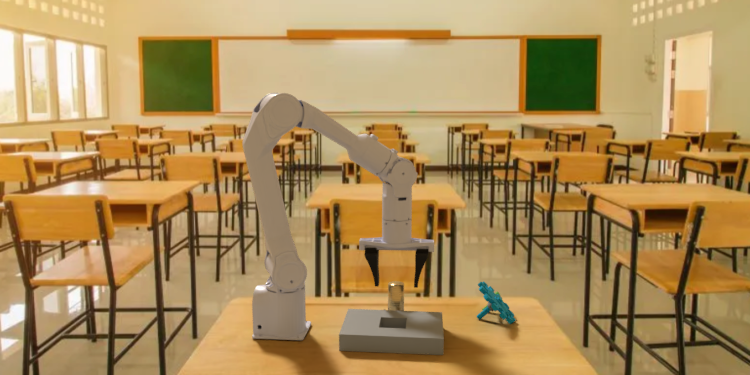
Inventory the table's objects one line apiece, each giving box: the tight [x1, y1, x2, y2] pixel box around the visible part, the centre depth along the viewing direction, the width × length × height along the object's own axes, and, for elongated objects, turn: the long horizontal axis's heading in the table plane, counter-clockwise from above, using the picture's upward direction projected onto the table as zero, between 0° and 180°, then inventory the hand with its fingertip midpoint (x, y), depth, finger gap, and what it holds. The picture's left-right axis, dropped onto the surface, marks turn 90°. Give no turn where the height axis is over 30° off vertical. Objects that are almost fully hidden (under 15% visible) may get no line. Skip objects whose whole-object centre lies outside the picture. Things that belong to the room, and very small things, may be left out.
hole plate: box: [338, 308, 445, 356], centre depth 107 cm, size 18×12×3 cm, turn 85°
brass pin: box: [387, 280, 405, 311], centre depth 116 cm, size 3×3×7 cm
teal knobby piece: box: [476, 281, 517, 325], centre depth 116 cm, size 11×6×10 cm
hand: (396, 285), depth 116 cm, fingers open, 7 cm apart
